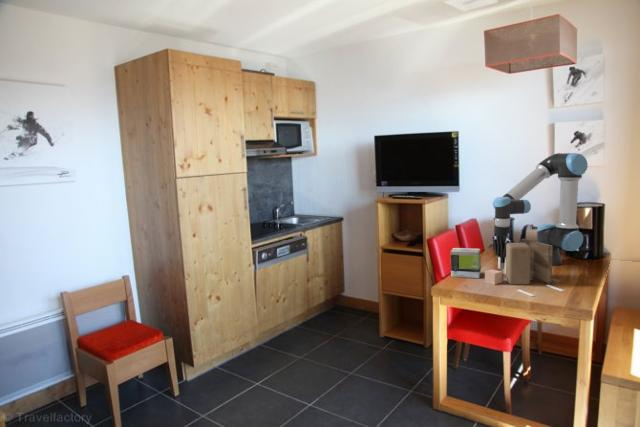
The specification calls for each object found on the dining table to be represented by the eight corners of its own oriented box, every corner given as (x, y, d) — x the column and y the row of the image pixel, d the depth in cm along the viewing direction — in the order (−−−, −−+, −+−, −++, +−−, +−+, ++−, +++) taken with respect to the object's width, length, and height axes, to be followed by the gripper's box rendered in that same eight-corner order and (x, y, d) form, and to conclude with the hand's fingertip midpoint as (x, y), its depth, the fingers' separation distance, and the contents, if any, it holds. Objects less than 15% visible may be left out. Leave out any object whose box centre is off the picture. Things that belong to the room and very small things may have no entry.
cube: (492, 280, 239) (492, 269, 238) (502, 282, 234) (502, 271, 233) (484, 282, 236) (484, 271, 235) (494, 284, 231) (494, 273, 230)
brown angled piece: (531, 273, 248) (532, 237, 245) (560, 282, 229) (561, 244, 226) (519, 274, 246) (519, 239, 243) (547, 284, 227) (548, 246, 224)
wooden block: (530, 285, 228) (531, 246, 224) (509, 284, 230) (509, 246, 226) (525, 279, 237) (526, 242, 234) (505, 279, 239) (505, 242, 236)
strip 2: (548, 285, 226) (548, 284, 225) (564, 291, 216) (564, 290, 216) (545, 285, 225) (545, 285, 225) (561, 291, 216) (561, 290, 216)
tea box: (480, 274, 251) (480, 248, 249) (479, 279, 242) (479, 252, 240) (453, 272, 257) (453, 247, 255) (450, 277, 248) (450, 250, 246)
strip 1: (519, 290, 221) (519, 289, 221) (534, 296, 211) (534, 295, 211) (517, 290, 220) (517, 289, 220) (532, 296, 211) (532, 295, 211)
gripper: (488, 224, 246) (487, 266, 249) (504, 228, 234) (503, 272, 237) (499, 223, 248) (498, 265, 251) (516, 227, 236) (515, 270, 239)
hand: (501, 268), depth 244 cm, fingers closed
